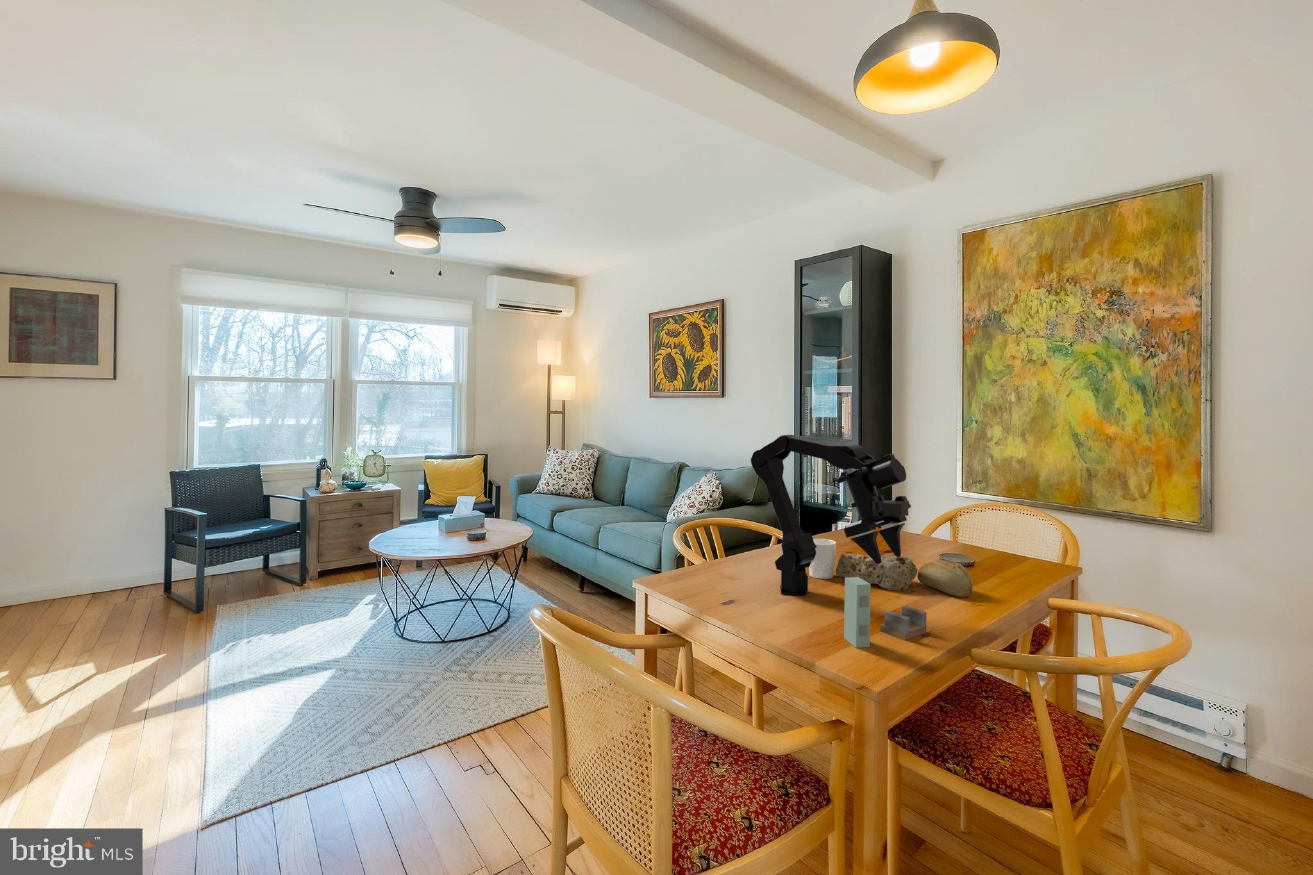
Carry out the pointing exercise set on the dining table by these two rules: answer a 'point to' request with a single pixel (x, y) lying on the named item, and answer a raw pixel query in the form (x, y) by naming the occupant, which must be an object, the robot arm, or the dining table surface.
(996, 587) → the dining table surface
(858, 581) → the pale green tall block
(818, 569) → the white cup
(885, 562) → the rock
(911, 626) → the hinge jig
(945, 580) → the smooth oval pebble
